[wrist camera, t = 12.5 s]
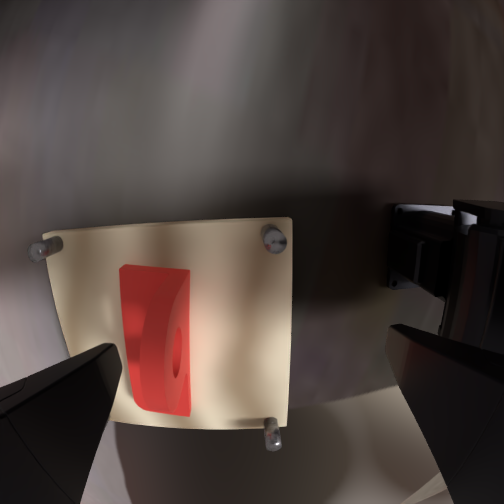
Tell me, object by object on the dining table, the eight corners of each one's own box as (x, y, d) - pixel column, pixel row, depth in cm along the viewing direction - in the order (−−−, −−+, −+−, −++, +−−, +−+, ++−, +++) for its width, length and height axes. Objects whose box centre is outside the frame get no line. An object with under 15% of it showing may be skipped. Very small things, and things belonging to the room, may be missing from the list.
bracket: (124, 264, 18) (65, 311, 11) (190, 269, 19) (160, 327, 11) (139, 400, 21) (112, 470, 13) (191, 408, 21) (178, 483, 14)
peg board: (288, 217, 20) (302, 227, 15) (284, 414, 24) (291, 450, 19) (52, 230, 19) (18, 242, 15) (99, 408, 23) (84, 438, 19)
